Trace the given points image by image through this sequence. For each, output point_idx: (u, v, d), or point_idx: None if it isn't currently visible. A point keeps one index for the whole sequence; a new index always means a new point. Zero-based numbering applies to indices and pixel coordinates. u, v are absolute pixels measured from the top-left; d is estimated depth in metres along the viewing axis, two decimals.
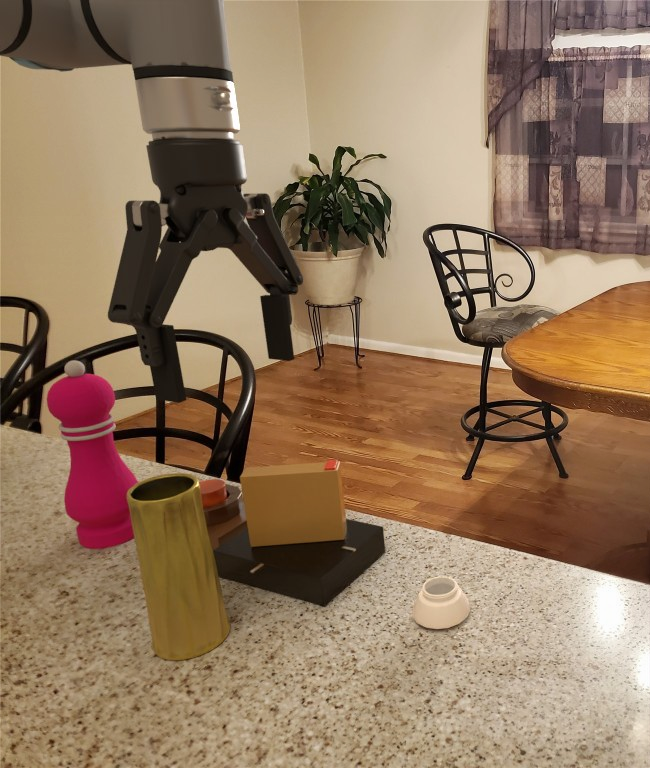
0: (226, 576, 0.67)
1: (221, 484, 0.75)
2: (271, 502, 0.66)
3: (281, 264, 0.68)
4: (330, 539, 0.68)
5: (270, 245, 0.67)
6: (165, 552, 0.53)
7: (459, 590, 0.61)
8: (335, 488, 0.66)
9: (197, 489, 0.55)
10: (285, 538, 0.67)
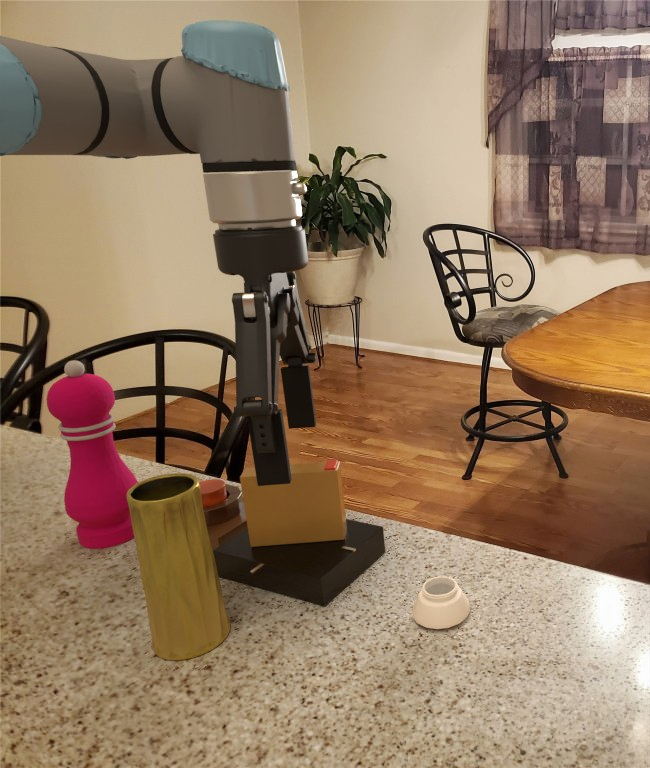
0: (226, 576, 0.67)
1: (221, 484, 0.75)
2: (271, 502, 0.66)
3: None
4: (330, 539, 0.68)
5: None
6: (165, 552, 0.53)
7: (459, 590, 0.61)
8: (335, 488, 0.66)
9: (197, 489, 0.55)
10: (285, 538, 0.67)
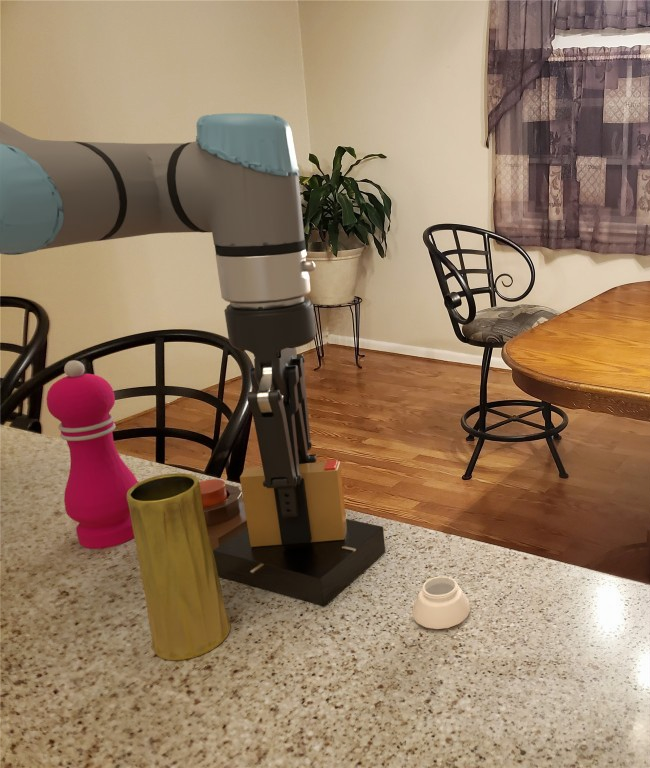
0: (226, 576, 0.67)
1: (221, 484, 0.75)
2: (271, 502, 0.66)
3: None
4: (330, 539, 0.68)
5: None
6: (165, 552, 0.53)
7: (459, 590, 0.61)
8: (335, 488, 0.66)
9: (197, 489, 0.55)
10: None
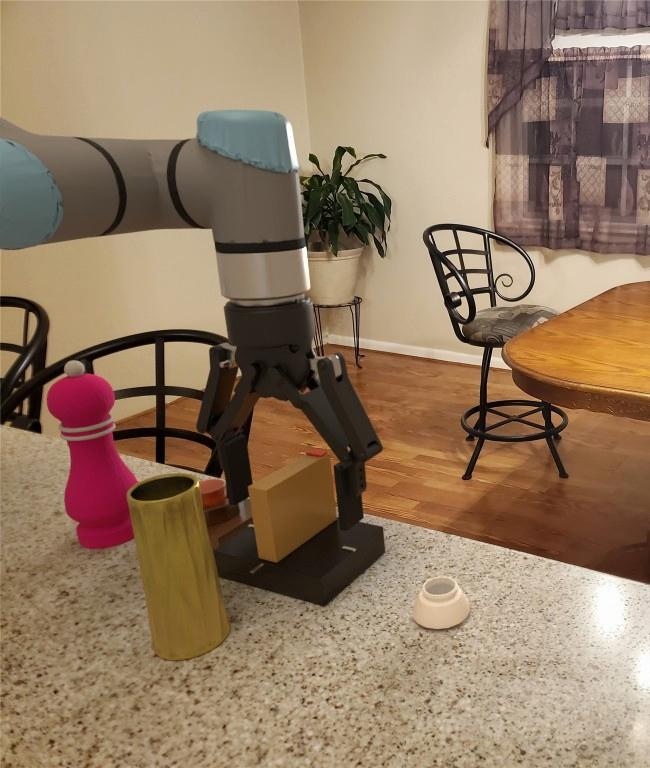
0: (226, 576, 0.67)
1: (221, 484, 0.75)
2: (289, 506, 0.65)
3: (222, 408, 0.68)
4: (328, 523, 0.71)
5: (226, 391, 0.67)
6: (165, 552, 0.53)
7: (459, 590, 0.61)
8: (330, 471, 0.70)
9: (197, 489, 0.55)
10: (300, 539, 0.67)
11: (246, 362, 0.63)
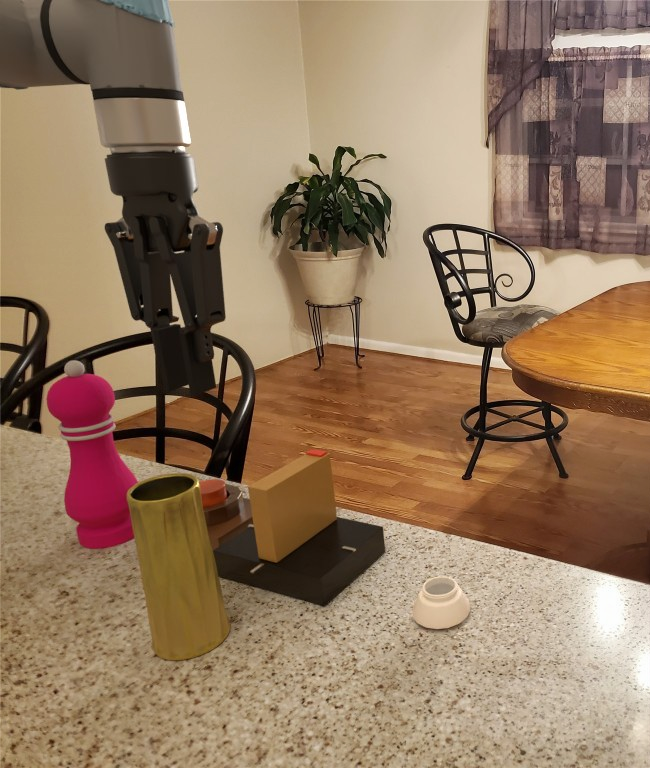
0: (226, 576, 0.67)
1: (221, 484, 0.75)
2: (289, 506, 0.65)
3: None
4: (328, 523, 0.71)
5: (141, 269, 0.70)
6: (165, 552, 0.53)
7: (459, 590, 0.61)
8: (330, 471, 0.70)
9: (197, 489, 0.55)
10: (300, 539, 0.67)
11: (131, 213, 0.66)
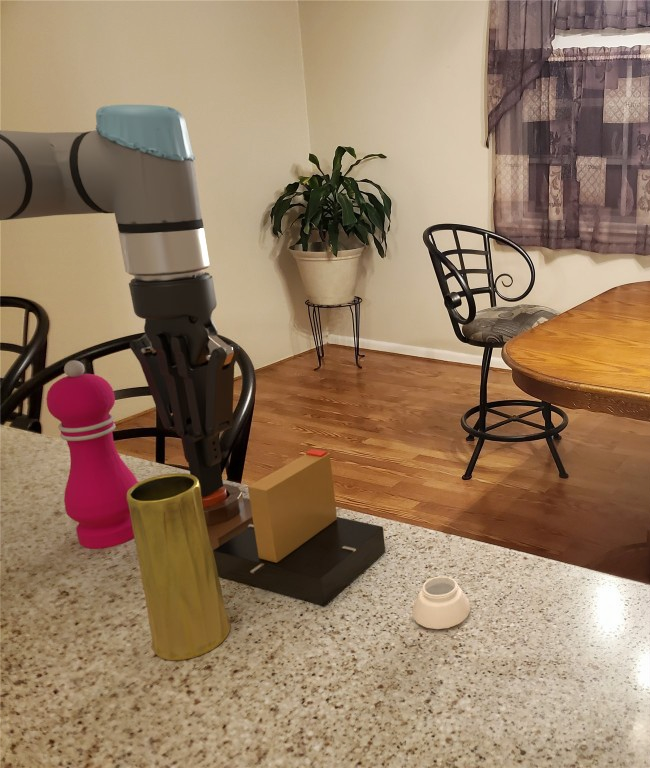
0: (226, 576, 0.67)
1: (222, 489, 0.75)
2: (289, 506, 0.65)
3: None
4: (328, 523, 0.71)
5: None
6: (165, 552, 0.53)
7: (459, 590, 0.61)
8: (330, 471, 0.70)
9: (197, 489, 0.55)
10: (300, 539, 0.67)
11: (153, 329, 0.69)
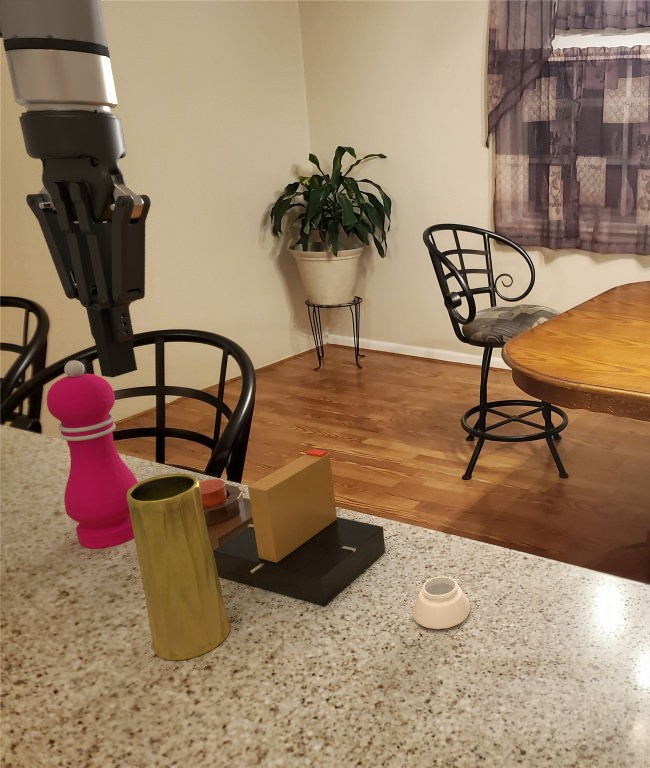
0: (226, 576, 0.67)
1: (221, 484, 0.75)
2: (289, 506, 0.65)
3: None
4: (328, 523, 0.71)
5: None
6: (165, 552, 0.53)
7: (459, 590, 0.61)
8: (330, 471, 0.70)
9: (197, 489, 0.55)
10: (300, 539, 0.67)
11: (51, 178, 0.61)
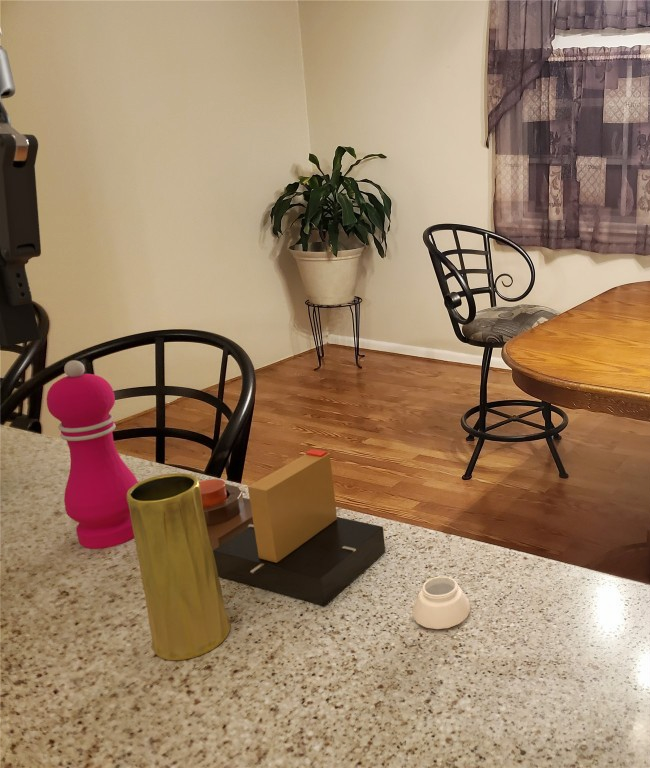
0: (226, 576, 0.67)
1: (221, 484, 0.75)
2: (289, 506, 0.65)
3: None
4: (328, 523, 0.71)
5: None
6: (165, 552, 0.53)
7: (459, 590, 0.61)
8: (330, 471, 0.70)
9: (197, 489, 0.55)
10: (300, 539, 0.67)
11: None
